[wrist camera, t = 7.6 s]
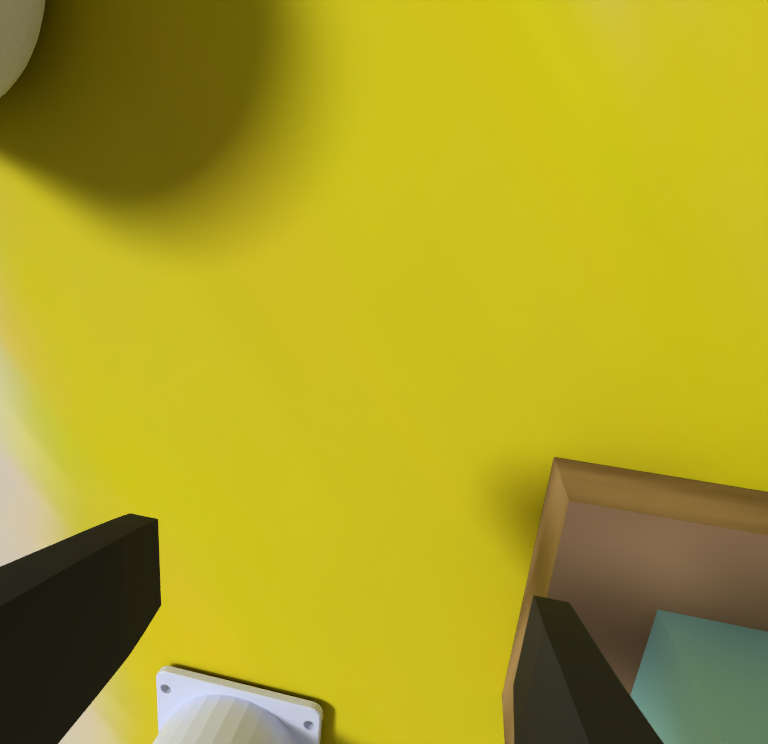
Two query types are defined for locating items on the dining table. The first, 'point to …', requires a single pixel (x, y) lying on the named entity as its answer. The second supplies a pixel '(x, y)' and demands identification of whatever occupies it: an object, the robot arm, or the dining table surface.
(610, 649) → the walnut base
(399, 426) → the dining table surface
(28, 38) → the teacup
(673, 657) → the teal cube
